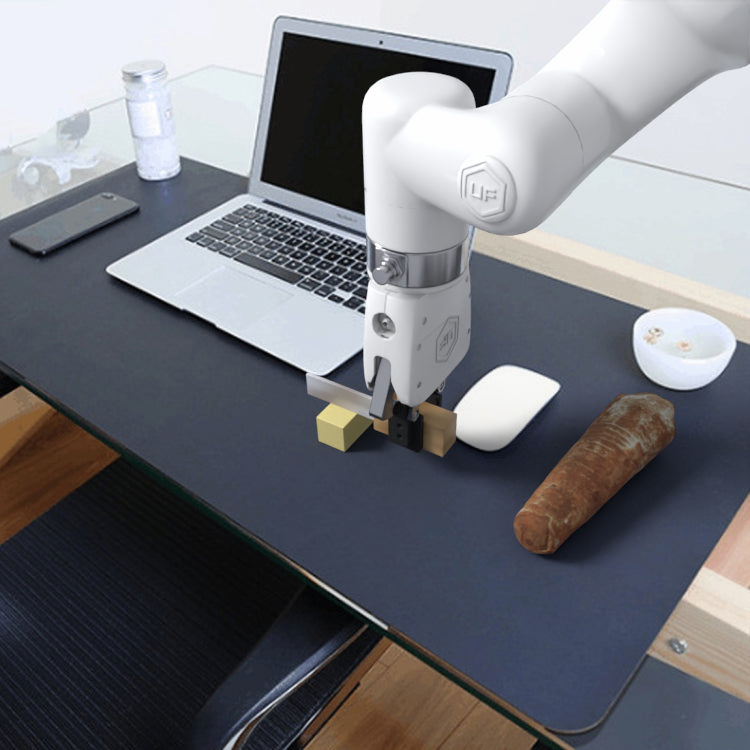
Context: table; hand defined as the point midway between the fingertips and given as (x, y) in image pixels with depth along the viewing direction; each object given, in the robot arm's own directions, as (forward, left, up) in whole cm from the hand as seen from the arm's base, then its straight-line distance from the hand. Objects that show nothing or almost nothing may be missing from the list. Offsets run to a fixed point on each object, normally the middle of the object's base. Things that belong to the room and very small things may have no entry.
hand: (414, 433), depth 70 cm
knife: (+4, -1, 0) cm, 4 cm away
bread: (-16, 0, -3) cm, 16 cm away
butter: (+7, -2, -3) cm, 8 cm away
